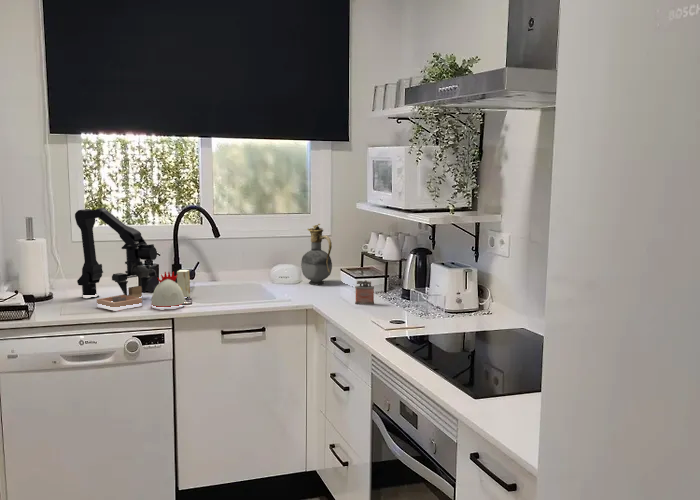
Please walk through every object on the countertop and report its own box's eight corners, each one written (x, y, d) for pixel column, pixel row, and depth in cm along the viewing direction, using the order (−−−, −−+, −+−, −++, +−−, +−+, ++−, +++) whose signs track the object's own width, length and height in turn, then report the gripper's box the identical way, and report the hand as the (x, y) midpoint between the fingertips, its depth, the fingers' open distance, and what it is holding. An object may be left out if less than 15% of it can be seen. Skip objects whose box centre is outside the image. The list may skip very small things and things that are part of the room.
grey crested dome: (187, 308, 277) (186, 272, 275) (153, 311, 272) (151, 275, 270) (182, 302, 290) (181, 268, 288) (150, 304, 285) (148, 270, 283)
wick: (128, 300, 293) (128, 287, 292) (138, 299, 297) (138, 285, 296) (132, 301, 291) (131, 288, 290) (142, 299, 295) (141, 286, 294)
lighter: (374, 303, 285) (374, 280, 284) (373, 304, 282) (373, 281, 281) (355, 302, 286) (355, 279, 285) (354, 304, 283) (354, 281, 281)
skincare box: (187, 298, 296) (186, 271, 295) (177, 298, 296) (176, 271, 295) (190, 295, 303) (189, 269, 301) (181, 296, 303) (180, 269, 301)
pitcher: (315, 280, 341) (314, 221, 337) (339, 285, 327) (339, 224, 323) (298, 282, 334) (297, 223, 330) (322, 288, 320) (321, 225, 316)
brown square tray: (97, 307, 280) (96, 298, 279) (124, 302, 290) (124, 293, 289) (114, 311, 271) (114, 302, 271) (142, 306, 282) (141, 296, 281)
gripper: (125, 263, 279) (127, 300, 281) (162, 258, 294) (164, 293, 296) (110, 261, 286) (112, 296, 288) (147, 256, 301) (149, 290, 303)
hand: (135, 294), depth 294 cm, fingers open, 9 cm apart
